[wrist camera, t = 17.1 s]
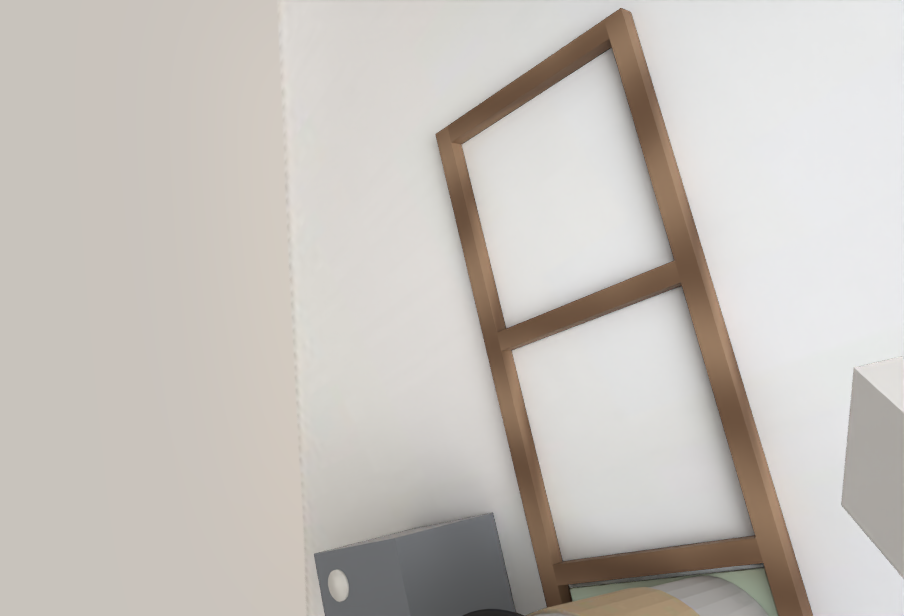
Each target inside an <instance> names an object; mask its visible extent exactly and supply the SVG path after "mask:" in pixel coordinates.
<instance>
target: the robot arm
mask: <svg viewBox="0 0 904 616" xmlns="http://www.w3.org/2000/svg"><path fill="white" fill-rule="evenodd" d="M841 505H842V507H843V508H844V509H845V510H846V511H847V512H848V514H849V515H850V516H851V517H852V518H853V520H854V521H855V522H856V523H857V524H858V525H859V527H860V528H861V529H862V530H863V531H864V533H865V534H866V535H867V536H868V537H869V538H870V540H871V541H872V542H873V543H874V544H875V546H876V547H877V548H878V549H879V550H880V551H881V553H882V554H883V555H884V556H885V557H886V559H887V560H888V561H889V562H890V563H891V564H892V566H893V567H894V568H895V569H896V570H897V572H898V573H899V574H900V575H901V576H902V577H903V579H904V358H903V357H902V356H901V357H897V358H893V359H888V360H884V361H880V362H876V363H871V364H867V365H863V366H859V367H854V371H853V382H852V393H851V404H850V415H849V426H848V436H847V447H846V458H845V469H844V480H843V491H842V502H841Z"/></svg>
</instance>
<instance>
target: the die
mask: <svg viewBox="0 0 904 616" xmlns="http://www.w3.org/2000/svg"><path fill="white" fill-rule="evenodd" d="M314 557H315V563H316V568H317V574H318V579H319V585H320V590H321V596H322V601H323V607H324V612H325V616H463V615H465V614H467V613H470V612H473V611H477V610H482V609H501V610H508V611H511V612H515V608H514V604H513V599H512V595H511V590H510V586H509V582H508V577H507V573H506V568H505V564H504V560H503V555H502V551H501V546H500V542H499V538H498V533H497V529H496V525H495V520H494V516H493V513H489V514H484V515H479V516H474V517H469V518H464V519H459V520H454V521H449V522H444V523H439V524H434V525H429V526H424V527H419V528H414V529H410V530H406V531H402V532H398V533H394V534H390V535H386V536H382V537H378V538H374V539H370V540H366V541H362V542H358V543H354V544H351V545H347V546H343V547H339V548H335V549H331V550H327V551H323V552H319V553H315V554H314ZM515 613H516V612H515Z"/></svg>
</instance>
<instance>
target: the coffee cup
mask: <svg viewBox="0 0 904 616" xmlns="http://www.w3.org/2000/svg"><path fill="white" fill-rule="evenodd" d="M463 616H524V615H521V614H518V613H515V612H511V611H508V610H501V609H482V610H477V611H473V612H470V613H467V614H465V615H463ZM526 616H769V615H768V613H767V612H766V611H765V610H764V609H763V608H762V607H761V605H760V604H759V603H758V602H757V601H756V600H755V599H754V598H752V597H751V596H750V595H749V594H748V593H747V592H746V591H744V590H743V589H741V588H739V587H738V586H736V585H735V584H733V583H731V582H729V581H726V580H724V579H722V578H718V577H713V576H696V577H691V578H687V579H683V580H679V581H674V582H670V583H666V584H662V585H657V586H653V587H649V588H648V587H636V588H628V589H623V590H619V591H615V592H611V593H607V594H603V595H598V596H594V597H590V598H586V599H582V600H577V601H573V602H569V603H565V604H561V605H556V606H552V607H548V608H544V609H541V610H538V611H536V612H533V613H530V614H528V615H526Z"/></svg>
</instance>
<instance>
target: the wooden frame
mask: <svg viewBox="0 0 904 616" xmlns="http://www.w3.org/2000/svg"><path fill="white" fill-rule="evenodd" d="M611 47H612V49H613V52H614V56H615V59H616V63H617V66H618V69H619V73H620V76H621V80H622V83H623V86H624V90H625V93H626V97H627V100H628V104H629V107H630V110H631V114H632V117H633V121H634V124H635V127H636V131H637V134H638V138H639V141H640V144H641V148H642V151H643V155H644V158H645V161H646V165H647V168H648V172H649V175H650V179H651V182H652V185H653V189H654V192H655V196H656V199H657V202H658V206H659V209H660V213H661V216H662V219H663V223H664V226H665V230H666V233H667V236H668V240H669V243H670V247H671V250H672V254H673V257H674V260H675V261H672V262H670V263H667V264H665V265H662V266H660V267H657V268H655V269H652V270H650V271H647V272H645V273H643V274H640V275H638V276H635V277H633V278H630V279H628V280H625V281H623V282H620V283H618V284H615V285H613V286H611V287H608V288H606V289H603V290H601V291H598V292H596V293H593V294H591V295H588V296H586V297H583V298H581V299H579V300H576V301H574V302H571V303H569V304H566V305H564V306H561V307H559V308H556V309H554V310H551V311H549V312H547V313H544V314H542V315H539V316H537V317H534V318H532V319H529V320H527V321H524V322H522V323H519V324H517V325H514V326H512V327H510V328H507V329H506V326H505V322H504V318H503V314H502V310H501V306H500V302H499V298H498V293H497V289H496V285H495V281H494V277H493V273H492V269H491V265H490V260H489V256H488V252H487V248H486V244H485V240H484V236H483V232H482V228H481V223H480V219H479V215H478V211H477V207H476V203H475V199H474V195H473V190H472V186H471V182H470V178H469V174H468V170H467V166H466V162H465V157H464V153H463V149H462V145H461V144H463V143H464V142H466V141H467V140H469V139H471V138H472V137H474V136H475V135H477V134H478V133H480V132H481V131H483V130H484V129H486V128H487V127H489V126H491V125H492V124H494V123H495V122H497V121H498V120H500V119H501V118H503V117H504V116H506V115H508V114H509V113H511V112H512V111H514V110H515V109H517V108H518V107H520V106H521V105H523V104H525V103H526V102H528V101H529V100H531V99H532V98H534V97H535V96H537V95H538V94H540V93H542V92H543V91H545V90H546V89H548V88H549V87H551V86H552V85H554V84H555V83H557V82H559V81H560V80H562V79H563V78H565V77H566V76H568V75H569V74H571V73H572V72H574V71H576V70H577V69H579V68H580V67H582V66H583V65H585V64H586V63H588V62H589V61H591V60H593V59H594V58H596V57H597V56H599V55H600V54H602V53H603V52H605V51H606V50H608V49H610V48H611ZM436 138H437V143H438V147H439V151H440V155H441V160H442V164H443V168H444V172H445V177H446V181H447V185H448V189H449V194H450V198H451V202H452V206H453V210H454V215H455V219H456V223H457V227H458V232H459V236H460V240H461V244H462V249H463V253H464V257H465V261H466V266H467V270H468V274H469V278H470V282H471V287H472V291H473V295H474V299H475V304H476V308H477V312H478V316H479V321H480V325H481V329H482V333H483V338H484V342H485V346H486V350H487V355H488V359H489V363H490V367H491V371H492V376H493V380H494V384H495V388H496V393H497V397H498V401H499V405H500V410H501V414H502V418H503V422H504V427H505V431H506V435H507V439H508V443H509V448H510V452H511V456H512V460H513V465H514V469H515V473H516V477H517V482H518V486H519V490H520V494H521V499H522V503H523V507H524V511H525V516H526V520H527V524H528V528H529V532H530V537H531V541H532V545H533V549H534V554H535V558H536V562H537V566H538V571H539V575H540V579H541V583H542V588H543V592H544V596H545V600H546V604H547V608H548V607H552V606H556V605H561V604H565V603H569V602H572V600H573V601H577V600H582V599H586V598H590V597H594V596H598V595H603V594H607V593H611V592H615V591H619V590H623V589H628V588H636V587H648V588H649V587H653V586H657V585H662V584H666V583H670V582H674V581H679V580H683V579H687V578H691V577H696V576H713V577H718V578H722V579H724V580H726V581H729V582H731V583H733V584H735V585H736V586H738V587H739V588H741V589H743V590H744V591H746V592H747V593H748V594H749V595H750V596H751V597H752V598H754V599H755V600H756V601H757V602H758V603H759V604H760V605H761V607H762V608H763V609H764V610H765V611H766V612H767V613H768V615H769V616H813V614H812V611H811V607H810V604H809V601H808V597H807V594H806V591H805V587H804V584H803V581H802V578H801V574H800V571H799V568H798V564H797V561H796V558H795V554H794V551H793V548H792V544H791V541H790V538H789V534H788V531H787V528H786V525H785V521H784V518H783V515H782V511H781V508H780V505H779V501H778V498H777V495H776V491H775V488H774V485H773V481H772V478H771V475H770V472H769V468H768V465H767V462H766V458H765V455H764V452H763V448H762V445H761V442H760V438H759V435H758V432H757V428H756V425H755V422H754V419H753V415H752V412H751V409H750V405H749V402H748V399H747V395H746V392H745V389H744V385H743V382H742V379H741V375H740V372H739V369H738V366H737V362H736V359H735V356H734V352H733V349H732V346H731V342H730V339H729V336H728V332H727V329H726V326H725V322H724V319H723V316H722V312H721V309H720V306H719V303H718V299H717V296H716V293H715V289H714V286H713V283H712V279H711V276H710V273H709V269H708V266H707V263H706V259H705V256H704V253H703V250H702V246H701V243H700V240H699V236H698V233H697V230H696V226H695V223H694V220H693V216H692V213H691V210H690V206H689V203H688V200H687V197H686V193H685V190H684V187H683V183H682V180H681V177H680V173H679V170H678V167H677V163H676V160H675V157H674V153H673V150H672V147H671V144H670V140H669V137H668V134H667V130H666V127H665V124H664V120H663V117H662V114H661V110H660V107H659V104H658V100H657V97H656V94H655V91H654V87H653V84H652V81H651V77H650V74H649V71H648V67H647V64H646V61H645V57H644V54H643V51H642V47H641V44H640V41H639V38H638V34H637V31H636V28H635V24H634V21H633V18H632V14H631V12H629V11H627V10H625V9H623V8H620V9H619V10H617V11H616V12H614V13H613V14H611V15H610V16H608V17H607V18H606V19H604V20H603V21H601V22H600V23H598V24H597V25H595V26H594V27H592V28H591V29H589V30H588V31H586V32H585V33H583V34H582V35H581V36H579V37H578V38H576V39H575V40H573V41H572V42H570V43H569V44H567V45H566V46H564V47H563V48H561V49H560V50H559V51H557V52H556V53H554V54H553V55H551V56H550V57H548V58H547V59H545V60H544V61H542V62H541V63H539V64H538V65H536V66H535V67H534V68H532V69H531V70H529V71H528V72H526V73H525V74H523V75H522V76H520V77H519V78H517V79H516V80H514V81H513V82H511V83H510V84H509V85H507V86H506V87H504V88H503V89H501V90H500V91H498V92H497V93H495V94H494V95H492V96H491V97H489V98H488V99H486V100H485V101H484V102H482V103H481V104H479V105H478V106H476V107H475V108H473V109H472V110H470V111H469V112H467V113H466V114H464V115H463V116H461V117H460V118H459V119H457V120H456V121H454V122H453V123H451V124H450V125H448V126H447V127H445V128H444V129H442V130H441V131H439V132H438V133H437V134H436ZM680 286H682V288H683V291H684V294H685V298H686V301H687V305H688V308H689V311H690V315H691V318H692V322H693V325H694V329H695V332H696V335H697V339H698V342H699V346H700V349H701V352H702V356H703V359H704V363H705V366H706V369H707V373H708V376H709V380H710V383H711V387H712V390H713V393H714V397H715V400H716V404H717V407H718V410H719V414H720V417H721V421H722V424H723V427H724V431H725V434H726V438H727V441H728V444H729V448H730V451H731V455H732V458H733V462H734V465H735V468H736V472H737V475H738V479H739V482H740V485H741V489H742V492H743V496H744V499H745V502H746V506H747V509H748V513H749V516H750V519H751V523H752V526H753V530H754V533H755V536H747V537H740V538H732V539H725V540H718V541H710V542H703V543H695V544H688V545H681V546H673V547H666V548H658V549H651V550H643V551H636V552H629V553H621V554H614V555H606V556H599V557H592V558H584V559H577V560H569V561H562V557H561V553H560V549H559V545H558V541H557V537H556V532H555V528H554V524H553V520H552V516H551V512H550V508H549V504H548V500H547V495H546V491H545V487H544V483H543V479H542V475H541V471H540V467H539V462H538V458H537V454H536V450H535V446H534V442H533V438H532V434H531V429H530V425H529V421H528V417H527V413H526V409H525V405H524V401H523V396H522V392H521V388H520V384H519V380H518V376H517V372H516V368H515V364H514V359H513V355H512V351H511V350H514V349H516V348H519V347H522V346H524V345H527V344H529V343H532V342H535V341H537V340H540V339H543V338H545V337H548V336H551V335H553V334H556V333H558V332H561V331H564V330H566V329H569V328H572V327H574V326H577V325H579V324H582V323H585V322H587V321H590V320H593V319H595V318H598V317H601V316H603V315H606V314H608V313H611V312H614V311H616V310H619V309H622V308H624V307H627V306H630V305H632V304H635V303H637V302H640V301H643V300H645V299H648V298H651V297H653V296H656V295H659V294H661V293H664V292H666V291H669V290H672V289H674V288H677V287H680ZM759 563H763V564H764V567H762V568H752V569H743V570H734V571H724V572H715V573H705V574H696V575H686V576H677V577H667V578H658V579H649V580H639V581H630V582H620V583H611V584H601V585H592V586H583V587H573V588H571V589H570V590H569V586H568V584H576V583H586V582H595V581H604V580H613V579H622V578H631V577H640V576H649V575H658V574H668V573H677V572H686V571H695V570H704V569H713V568H722V567H731V566H740V565H750V564H759ZM570 591H571V594H570ZM571 596H572V598H571Z"/></svg>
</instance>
